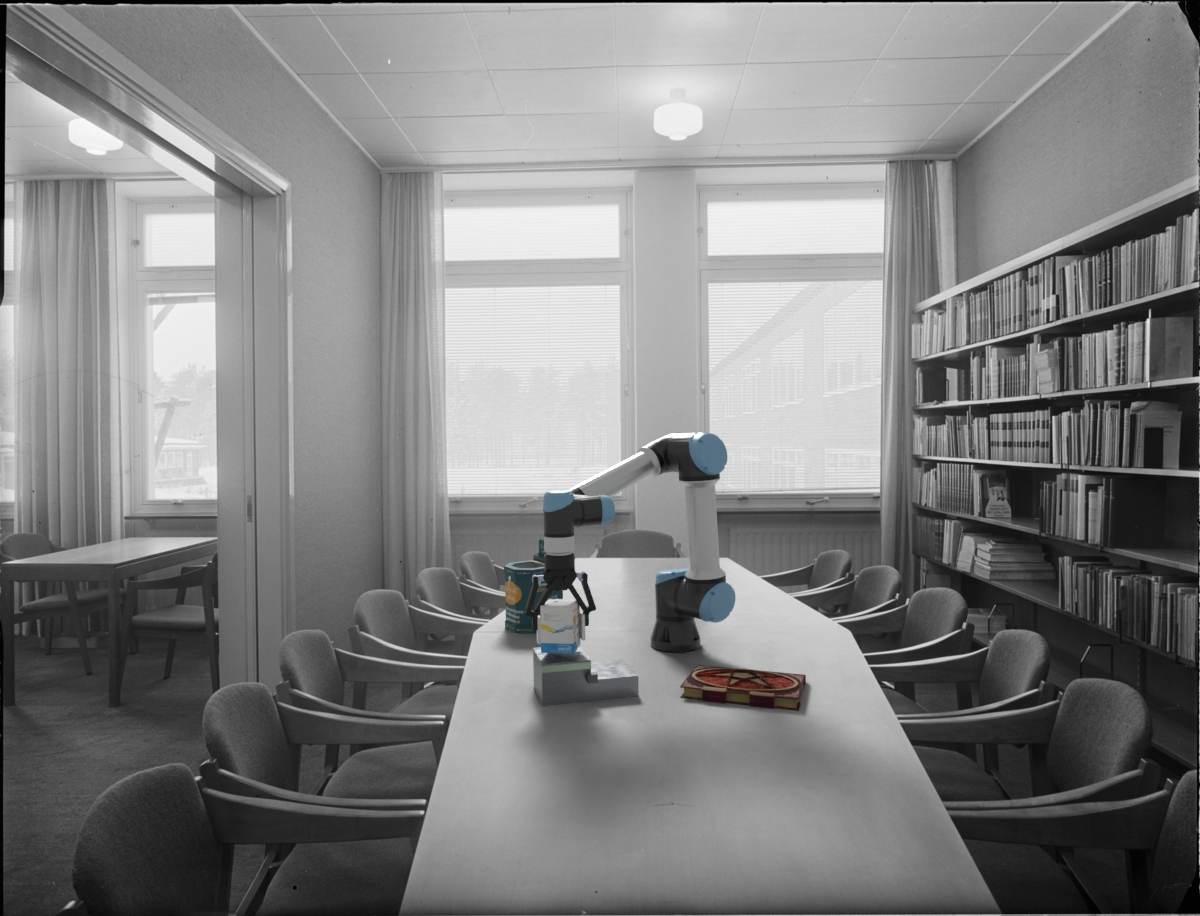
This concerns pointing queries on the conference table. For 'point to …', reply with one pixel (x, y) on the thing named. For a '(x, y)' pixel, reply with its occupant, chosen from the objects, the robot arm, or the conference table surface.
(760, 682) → the book
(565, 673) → the stepped stand
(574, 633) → the ink box
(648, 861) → the conference table surface
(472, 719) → the conference table surface
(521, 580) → the donation box
